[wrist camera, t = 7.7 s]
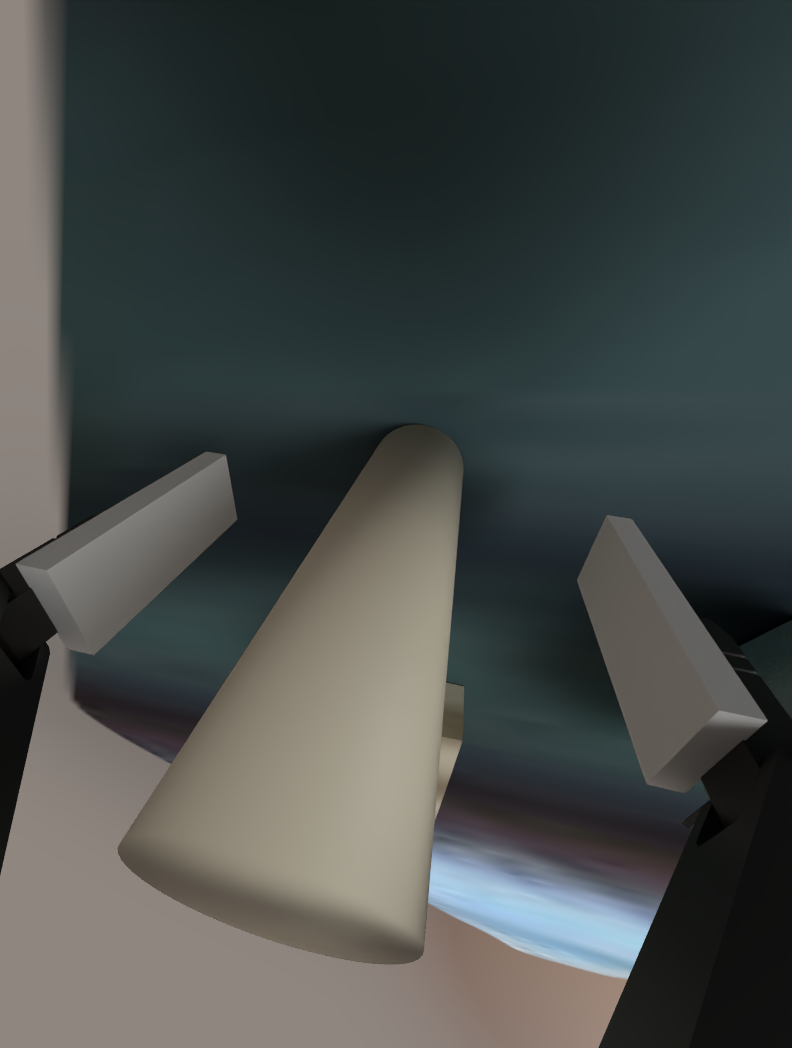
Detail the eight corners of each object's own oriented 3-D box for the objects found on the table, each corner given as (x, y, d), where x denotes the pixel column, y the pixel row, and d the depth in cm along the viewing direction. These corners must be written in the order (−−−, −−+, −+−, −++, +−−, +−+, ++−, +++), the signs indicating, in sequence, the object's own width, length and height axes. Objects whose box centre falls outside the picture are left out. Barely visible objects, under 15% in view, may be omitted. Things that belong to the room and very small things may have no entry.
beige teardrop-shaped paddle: (364, 416, 16) (24, 789, 4) (483, 433, 15) (503, 924, 3) (355, 664, 25) (243, 1002, 13) (430, 680, 24) (384, 1050, 12)
